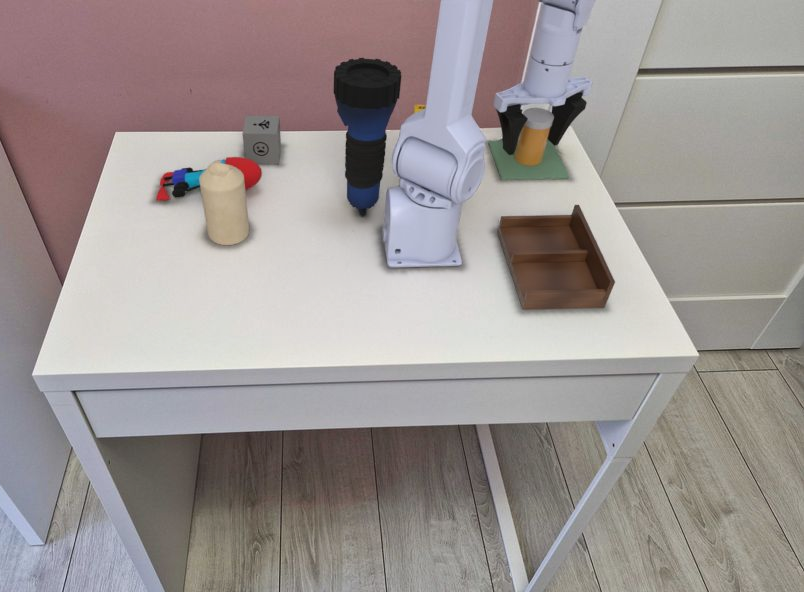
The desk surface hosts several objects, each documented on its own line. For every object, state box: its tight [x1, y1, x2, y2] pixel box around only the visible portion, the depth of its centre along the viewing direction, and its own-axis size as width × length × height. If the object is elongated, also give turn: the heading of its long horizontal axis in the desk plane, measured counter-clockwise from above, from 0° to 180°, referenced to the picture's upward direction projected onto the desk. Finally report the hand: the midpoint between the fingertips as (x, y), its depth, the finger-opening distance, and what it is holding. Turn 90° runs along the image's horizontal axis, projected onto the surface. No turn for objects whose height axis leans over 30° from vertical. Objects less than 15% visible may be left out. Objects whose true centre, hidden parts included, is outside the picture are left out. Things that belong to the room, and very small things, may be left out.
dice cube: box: [241, 115, 282, 165], centre depth 103 cm, size 5×5×5 cm
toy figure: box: [155, 156, 263, 202], centre depth 97 cm, size 8×5×15 cm
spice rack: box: [497, 204, 616, 311], centre depth 87 cm, size 10×15×4 cm, turn 3°
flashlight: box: [333, 57, 402, 218], centre depth 88 cm, size 8×8×20 cm
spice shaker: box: [514, 107, 554, 166], centre depth 102 cm, size 4×4×7 cm
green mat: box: [487, 140, 570, 181], centre depth 105 cm, size 10×10×1 cm
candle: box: [199, 162, 250, 246], centre depth 89 cm, size 6×6×10 cm
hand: (530, 146), depth 103 cm, fingers open, 7 cm apart
